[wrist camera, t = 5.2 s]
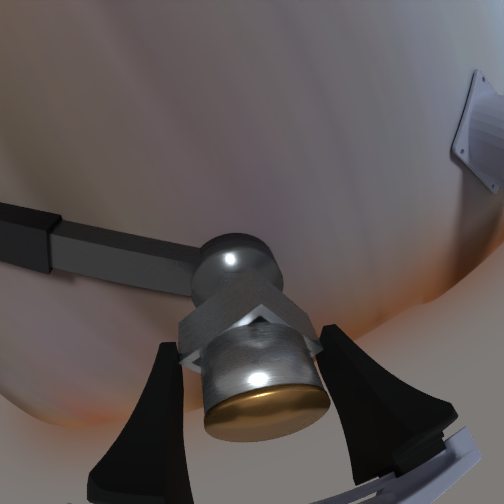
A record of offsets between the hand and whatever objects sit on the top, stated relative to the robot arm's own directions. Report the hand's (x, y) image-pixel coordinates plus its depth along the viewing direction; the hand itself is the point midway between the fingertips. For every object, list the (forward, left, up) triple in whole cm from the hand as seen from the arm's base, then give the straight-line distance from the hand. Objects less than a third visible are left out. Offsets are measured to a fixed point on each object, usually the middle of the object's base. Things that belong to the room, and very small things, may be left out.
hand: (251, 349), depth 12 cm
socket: (0, 0, -2) cm, 2 cm away
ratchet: (+8, 0, -6) cm, 10 cm away
